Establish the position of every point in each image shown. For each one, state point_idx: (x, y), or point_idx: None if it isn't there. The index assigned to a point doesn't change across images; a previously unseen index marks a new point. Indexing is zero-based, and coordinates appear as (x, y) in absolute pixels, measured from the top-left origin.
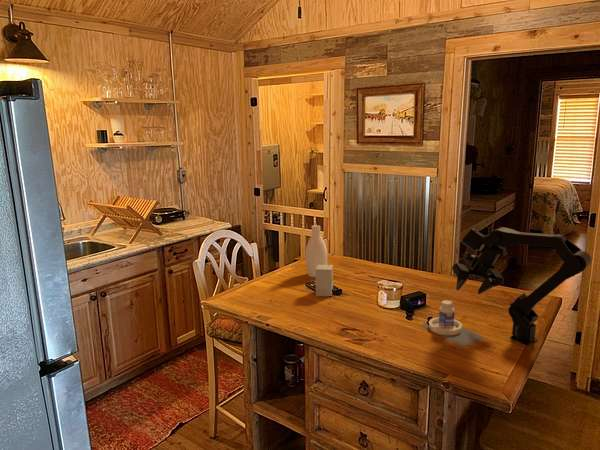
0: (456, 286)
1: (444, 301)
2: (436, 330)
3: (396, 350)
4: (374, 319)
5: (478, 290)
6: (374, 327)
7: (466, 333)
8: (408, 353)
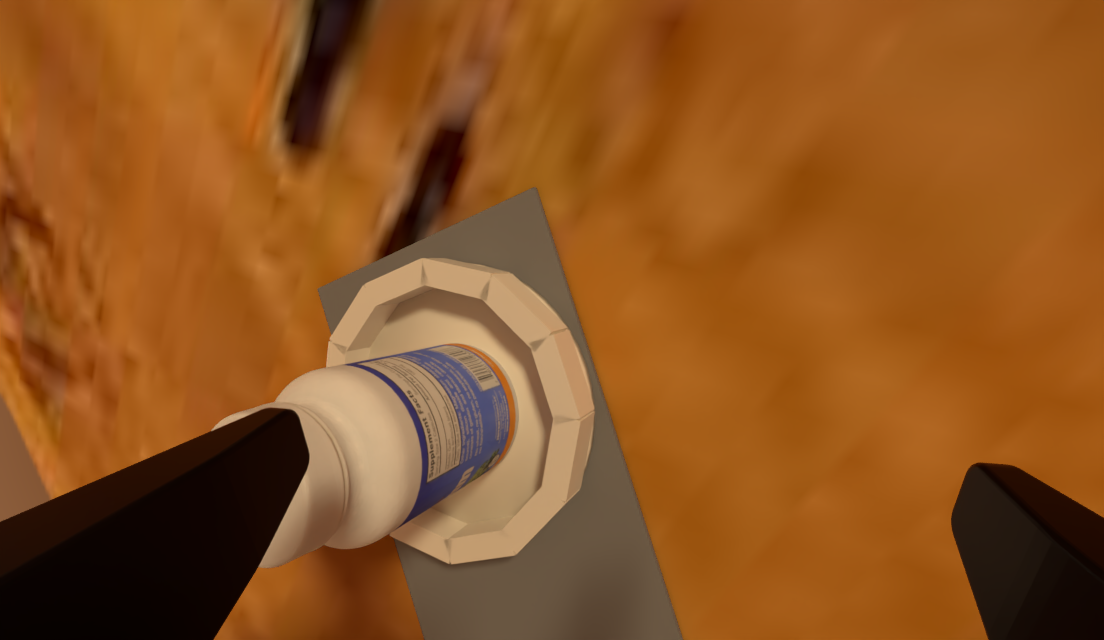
0: (208, 442)
1: None
2: None
3: None
4: (124, 104)
5: (1011, 512)
6: (108, 228)
7: (581, 562)
8: None
